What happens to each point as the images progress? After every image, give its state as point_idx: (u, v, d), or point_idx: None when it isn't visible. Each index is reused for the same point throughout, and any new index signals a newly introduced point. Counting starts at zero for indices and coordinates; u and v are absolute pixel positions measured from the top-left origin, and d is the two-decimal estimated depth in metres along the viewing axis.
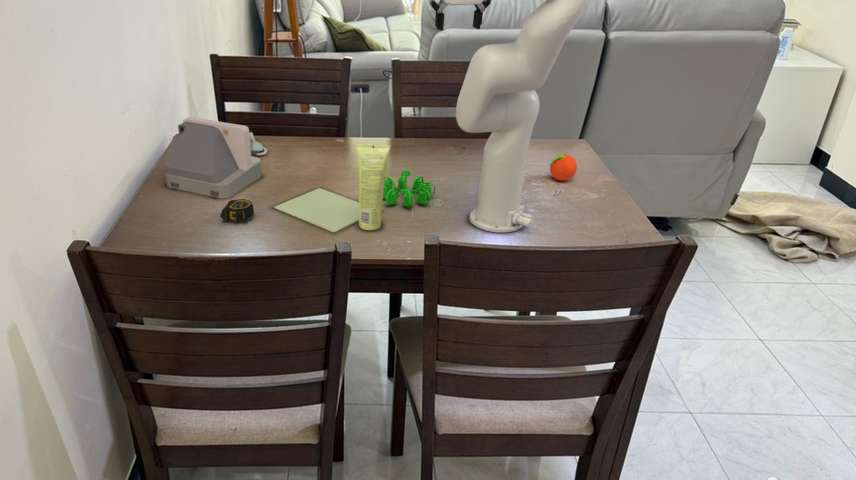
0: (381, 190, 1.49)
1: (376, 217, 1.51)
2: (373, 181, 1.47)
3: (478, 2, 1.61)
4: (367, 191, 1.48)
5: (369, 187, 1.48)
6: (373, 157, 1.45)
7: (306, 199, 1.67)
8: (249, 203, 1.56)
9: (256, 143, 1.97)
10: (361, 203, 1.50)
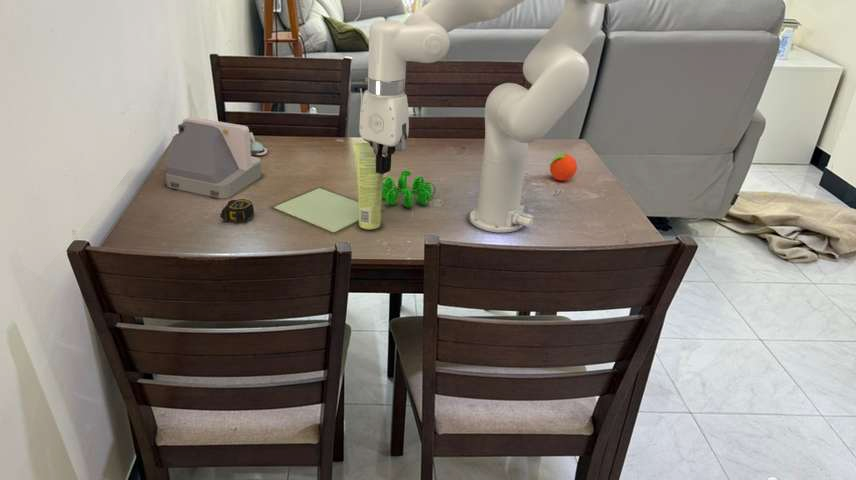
0: (380, 188, 1.49)
1: (376, 216, 1.51)
2: (371, 179, 1.47)
3: (389, 144, 1.38)
4: (366, 189, 1.48)
5: (368, 185, 1.48)
6: (371, 155, 1.46)
7: (306, 199, 1.67)
8: (249, 203, 1.56)
9: (256, 143, 1.97)
10: (360, 202, 1.50)
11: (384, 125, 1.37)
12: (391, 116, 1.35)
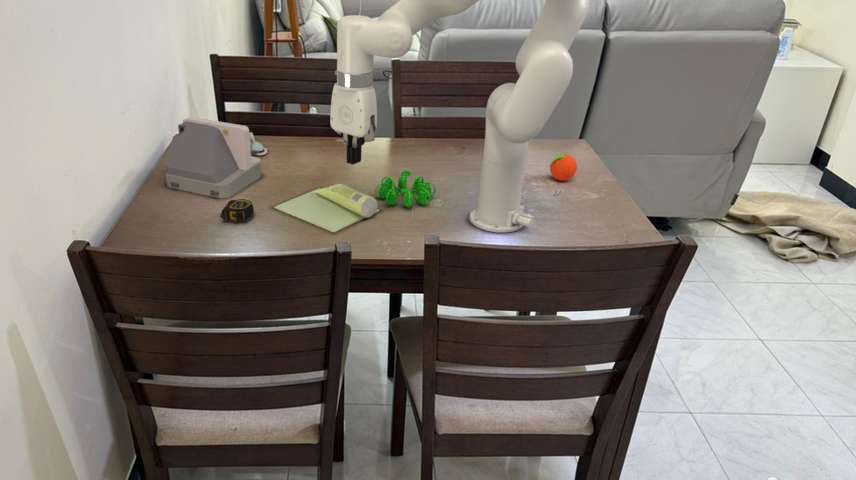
0: None
1: None
2: (343, 187, 1.64)
3: (358, 135, 1.43)
4: (344, 190, 1.61)
5: (344, 189, 1.62)
6: (332, 186, 1.68)
7: (306, 199, 1.67)
8: (249, 203, 1.56)
9: (256, 143, 1.97)
10: (347, 197, 1.59)
11: (353, 117, 1.41)
12: (359, 108, 1.40)
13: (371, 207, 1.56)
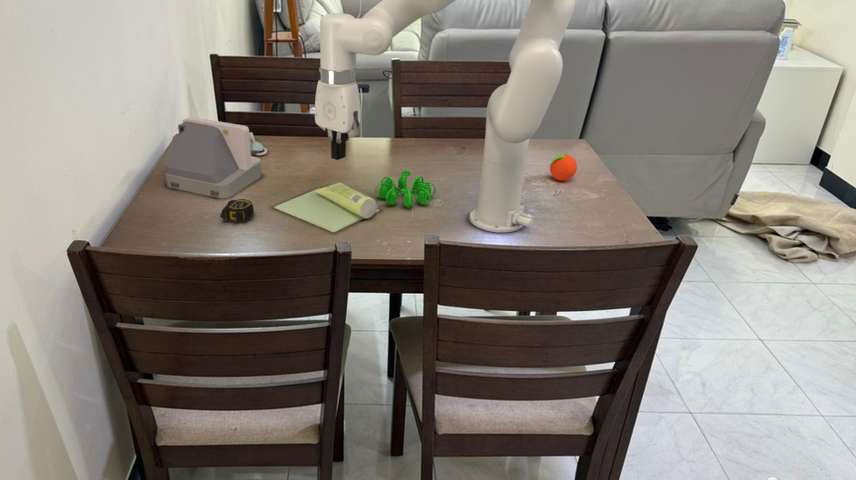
0: None
1: None
2: (343, 187, 1.64)
3: (342, 131, 1.45)
4: (343, 190, 1.61)
5: (343, 189, 1.62)
6: (332, 186, 1.68)
7: (306, 199, 1.67)
8: (249, 203, 1.56)
9: (256, 143, 1.97)
10: (346, 198, 1.59)
11: (336, 113, 1.44)
12: (342, 104, 1.42)
13: (371, 208, 1.56)
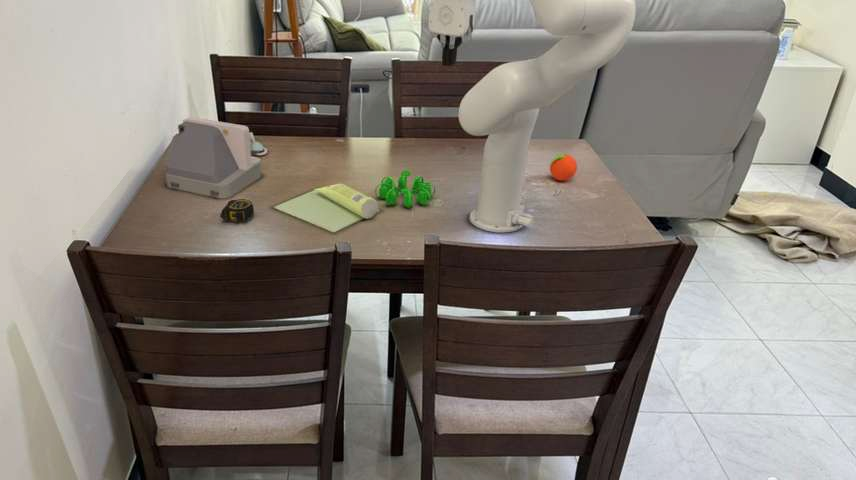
0: None
1: (367, 196, 1.58)
2: (344, 187, 1.64)
3: (457, 34, 1.52)
4: (345, 190, 1.61)
5: (345, 189, 1.62)
6: None
7: (306, 199, 1.67)
8: (249, 203, 1.56)
9: (256, 143, 1.97)
10: (347, 197, 1.59)
11: (453, 16, 1.51)
12: (460, 7, 1.49)
13: (371, 209, 1.56)
